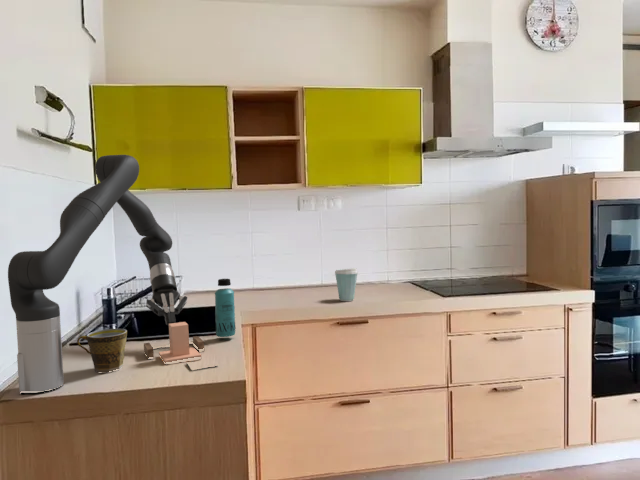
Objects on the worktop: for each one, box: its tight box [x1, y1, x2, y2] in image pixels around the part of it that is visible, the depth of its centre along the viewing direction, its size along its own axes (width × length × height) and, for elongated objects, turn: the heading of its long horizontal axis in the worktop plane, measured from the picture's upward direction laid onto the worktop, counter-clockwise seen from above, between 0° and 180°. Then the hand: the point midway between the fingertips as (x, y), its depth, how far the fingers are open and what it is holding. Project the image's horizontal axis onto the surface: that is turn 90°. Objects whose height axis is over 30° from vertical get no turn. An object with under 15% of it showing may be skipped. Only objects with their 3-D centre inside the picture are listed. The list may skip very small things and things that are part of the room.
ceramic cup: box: [76, 328, 128, 373], centre depth 134 cm, size 13×10×10 cm
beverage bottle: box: [214, 278, 237, 338], centre depth 163 cm, size 6×7×20 cm
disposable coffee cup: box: [334, 267, 359, 302], centre depth 230 cm, size 11×11×15 cm
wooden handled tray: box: [143, 335, 205, 358], centre depth 149 cm, size 16×8×3 cm, turn 117°
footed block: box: [158, 321, 202, 363], centre depth 143 cm, size 10×10×10 cm
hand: (171, 324), depth 151 cm, fingers closed
